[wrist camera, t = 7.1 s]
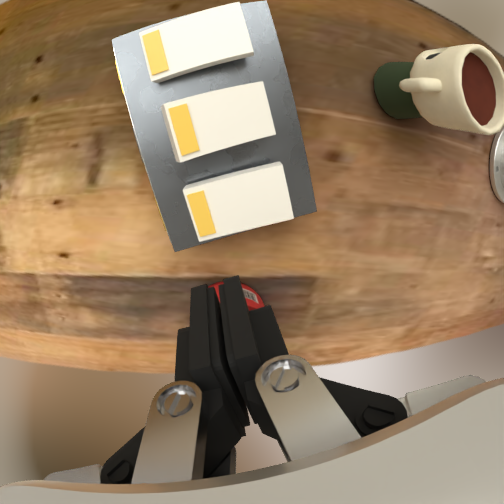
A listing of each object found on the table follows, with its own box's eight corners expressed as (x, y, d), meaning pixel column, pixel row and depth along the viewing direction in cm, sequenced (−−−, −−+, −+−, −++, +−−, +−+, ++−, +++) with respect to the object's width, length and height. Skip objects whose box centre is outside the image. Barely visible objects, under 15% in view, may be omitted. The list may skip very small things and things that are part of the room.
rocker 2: (254, 84, 20) (263, 80, 19) (266, 134, 22) (277, 134, 20) (160, 107, 18) (163, 103, 17) (176, 161, 20) (180, 162, 18)
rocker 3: (279, 161, 22) (282, 164, 20) (290, 212, 23) (294, 219, 22) (185, 185, 22) (182, 190, 20) (201, 234, 24) (199, 242, 22)
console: (255, 19, 22) (268, -3, 17) (298, 197, 30) (319, 213, 24) (122, 54, 21) (104, 39, 16) (174, 232, 29) (169, 256, 24)
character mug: (426, 62, 25) (514, 56, 13) (434, 121, 28) (523, 136, 16) (344, 57, 24) (429, 31, 13) (355, 125, 27) (445, 136, 16)
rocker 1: (240, 8, 16) (239, 1, 15) (253, 55, 18) (253, 51, 16) (146, 36, 17) (138, 32, 16) (157, 83, 19) (150, 81, 17)
